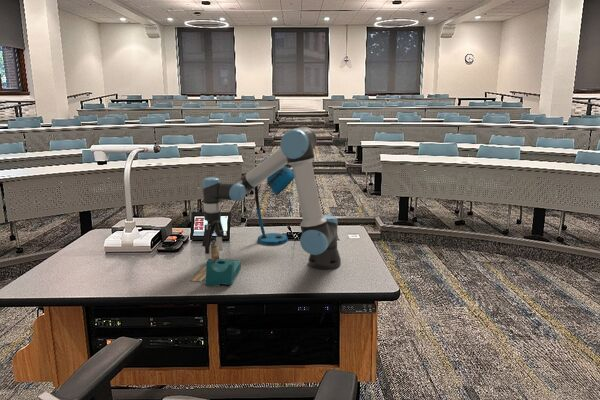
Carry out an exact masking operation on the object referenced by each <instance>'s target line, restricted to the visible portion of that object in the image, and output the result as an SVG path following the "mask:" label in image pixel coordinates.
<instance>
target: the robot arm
mask: <svg viewBox="0 0 600 400" xmlns="http://www.w3.org/2000/svg"><path fill="white" fill-rule="evenodd" d="M317 142H318V139H317V134H316V132H315V131H314V130H313V129H312V128H310V127H308V126H298V127H296V128H292V129H289V130H288V131H286V132H285V133H284V134H283V135H282V137H281V139H280V145H279V146H280V148H278V149H277V150H276V151H275V152H273V153H272V154H271V155H269V156H268V157H266V158H267V159H265V158H264V159H265V160H264V159H263V160H264V161H263V162H261V161H260V163H259V164H258V165H256V166H255V167H253V168H252V169H251V170H250V171H248V172H247V173H245V174H243V175H242V177H240V178H239V179H236V180H235V181H232V182H230V183H226V182H220V178H219V177H215V176H214V177H213V176H212V177H211V176H210V177H209V176H208V177H205V178H203V179H202V195H203V196H202V197H203V204H202V206H203V217H204V220H205V221H206V222H207V224H204V225H203V226H204V227H203V228H204V230H203V237H202V238H203V239H202V245H201V246H202V247H204V258H205V261H207V260H208V259H211V244H212V240H213V239H212V238H213V234H215V235H216V237H215V243H217V245H218V246H219V251H223V237H225V235H224V233H225V232H224V228H223V224H222V221H221V218H222V217H221V215H222V213H221V200H224V201H233V202H242V201H243V200H244V199H245V198H246V194H249V193H250V192H252V191H253V189H255V187H256V186H257V185H258V186H259V185H260V184H261V183H263V182H264V181H266V180H267V178H268V177H270V176H271V175H272V174H274V173H275V172H276V171H278V170H279V169H281V168H282V167H283V166H286V165H289V166H291V168H292V171H293V174H294V179H293V180H294V183H295V187H296V188H295V189H296V193H297V198H298V203H299V207H300V208H299V209H300V212H301V218H302V221H301V223H300V229H301V230H300V231H301V236H300V240H299V241H300V246H301V248H302V249H303V251H304V252H305V253H307V254H308V255H309V256H308V260H307V261H308V265H309V266H310V267H311V268H314V269H318V270H331V269H335V268H338V267H340V266H341V265H342V263H341V262H342V260H341V257H340V253H339V250H338V225H339V223H338V218H337V217H336V216H334V215H329V214H328V215H325V214H324V215H323V213H322V212H323V211H322V208H321V202H320V198H319V192H318V187H317V182H316V178H315V177H316V176H315V172H314V171H315V170H314V167H313V161H314V159H315V152H314V149H315V148H316V146H317Z"/></svg>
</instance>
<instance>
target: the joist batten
mask: <svg viewBox="0 0 600 400" xmlns="http://www.w3.org/2000/svg"><path fill="white" fill-rule="evenodd" d="M204 280H206V266H204V267H203V268H202V269H201V270H200V271H199V272H198V273H196V274H195V275H194V276H193V277H192V278H191V279H190V280H189V282H194V283H195V282H196V283H202V282H203V281H204Z"/></svg>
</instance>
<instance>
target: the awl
mask: <svg viewBox="0 0 600 400" xmlns="http://www.w3.org/2000/svg"><path fill="white" fill-rule="evenodd" d="M210 246H211V259H212V261H213V264H214V263H215V261H216V260H217V259H220V250H219V246H218V245H217V243H216V239H211V243H210Z"/></svg>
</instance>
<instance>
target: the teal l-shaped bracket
mask: <svg viewBox="0 0 600 400" xmlns="http://www.w3.org/2000/svg"><path fill="white" fill-rule="evenodd" d="M241 264H242V261H240V260H230V259H224V258H223V259H222V258H219V259H217V260H216V261H215V263H214V264H213V261H212V259H208V260H206V265H205V267H206V278H205V286H208V287H209V286H211V287H219V285H230V286H231V285H232V284H233V283H234V281H235V279H236V277H237V276H238V274H239V272H240V270H241V269H242V268H241V267H242V266H241Z"/></svg>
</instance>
